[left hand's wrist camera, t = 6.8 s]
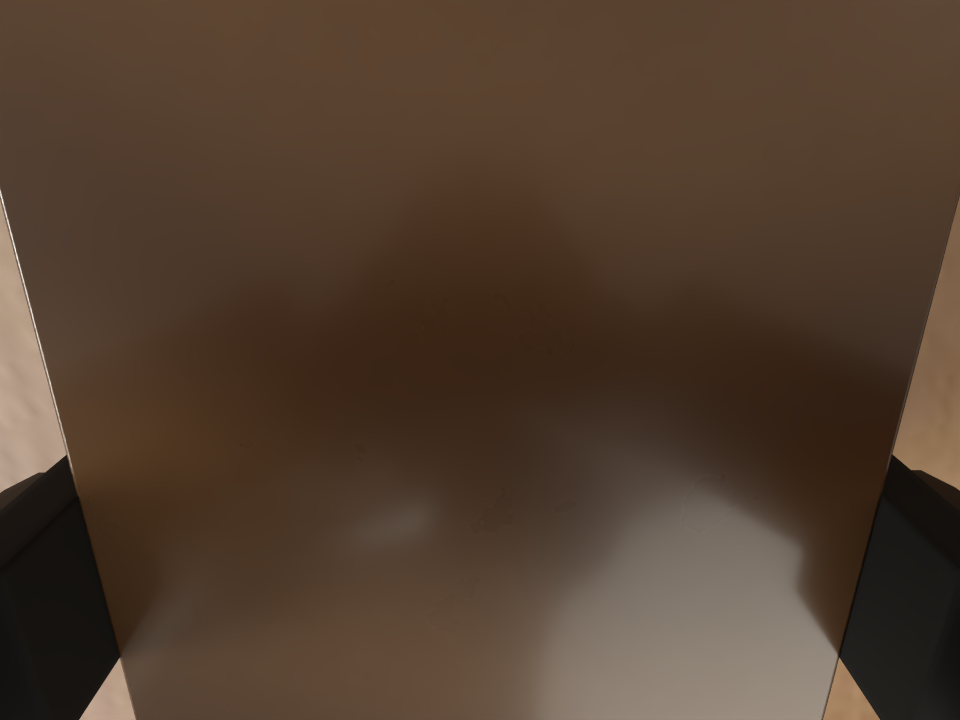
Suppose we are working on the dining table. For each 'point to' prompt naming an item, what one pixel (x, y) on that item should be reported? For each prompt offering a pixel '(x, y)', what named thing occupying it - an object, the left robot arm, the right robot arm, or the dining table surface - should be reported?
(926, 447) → the dining table surface
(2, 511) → the left robot arm
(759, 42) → the cabinet
